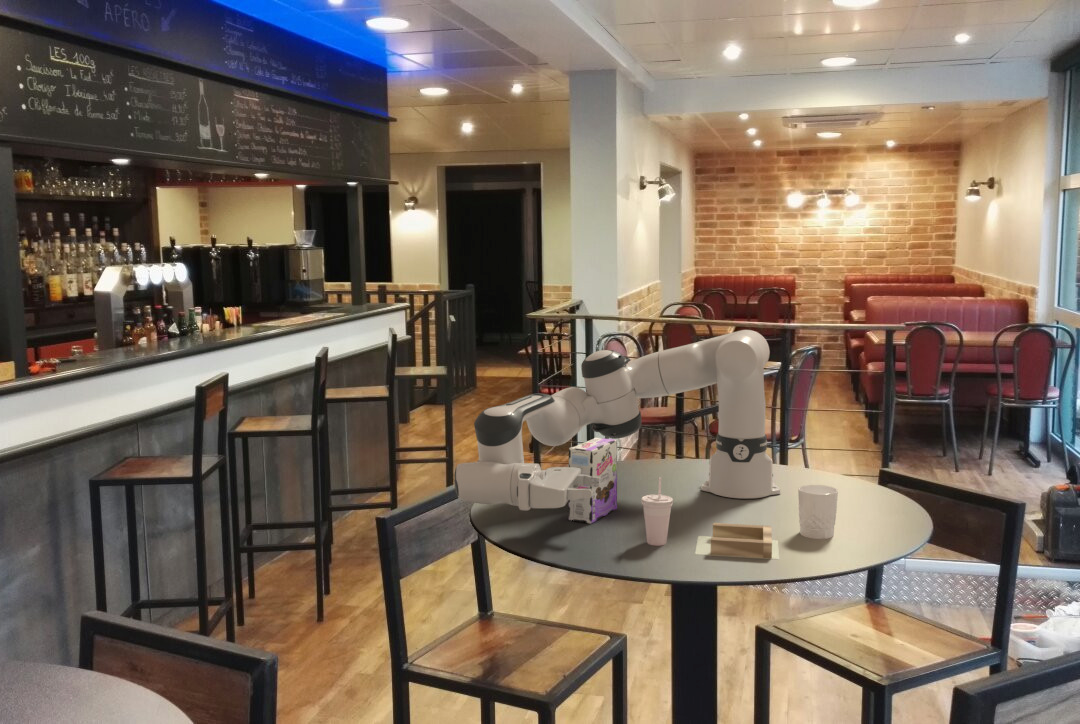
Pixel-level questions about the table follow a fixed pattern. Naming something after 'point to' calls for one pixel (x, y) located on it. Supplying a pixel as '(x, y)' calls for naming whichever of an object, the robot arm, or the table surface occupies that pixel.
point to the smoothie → (657, 516)
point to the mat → (705, 549)
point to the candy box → (595, 462)
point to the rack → (741, 540)
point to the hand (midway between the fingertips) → (595, 487)
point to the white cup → (817, 511)
